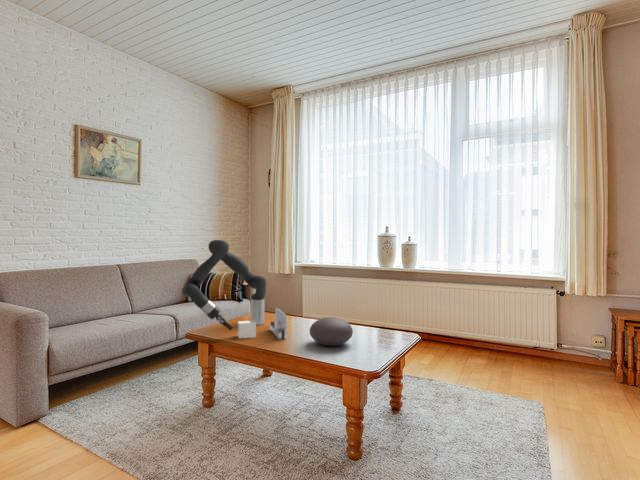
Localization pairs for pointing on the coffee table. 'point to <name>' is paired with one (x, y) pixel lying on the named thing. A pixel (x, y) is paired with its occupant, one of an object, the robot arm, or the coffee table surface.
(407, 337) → the coffee table surface
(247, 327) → the block
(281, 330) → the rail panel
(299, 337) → the coffee table surface
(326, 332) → the flattened ellipsoid
